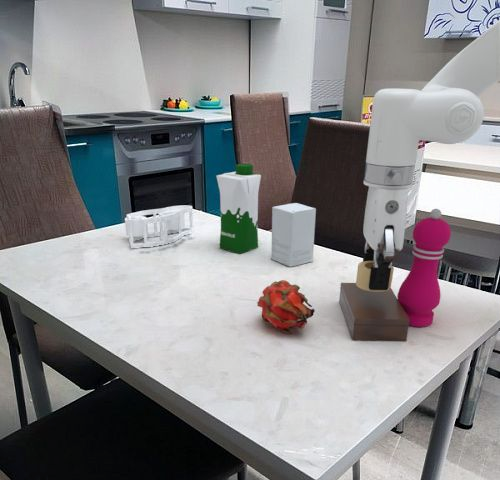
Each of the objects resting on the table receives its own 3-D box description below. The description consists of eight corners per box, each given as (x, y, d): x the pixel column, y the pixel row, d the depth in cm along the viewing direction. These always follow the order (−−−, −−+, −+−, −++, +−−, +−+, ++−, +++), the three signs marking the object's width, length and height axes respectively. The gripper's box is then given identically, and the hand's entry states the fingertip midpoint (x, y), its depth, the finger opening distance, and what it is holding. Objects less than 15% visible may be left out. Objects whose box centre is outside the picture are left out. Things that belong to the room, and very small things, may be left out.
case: (387, 302, 98) (389, 283, 96) (408, 341, 84) (412, 319, 82) (338, 301, 98) (340, 282, 97) (351, 340, 84) (354, 318, 82)
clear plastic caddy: (184, 228, 144) (182, 202, 140) (204, 237, 136) (203, 210, 132) (117, 240, 133) (114, 212, 130) (134, 250, 125) (131, 221, 122)
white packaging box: (313, 261, 119) (317, 208, 113) (289, 267, 115) (291, 212, 109) (294, 253, 124) (296, 201, 119) (269, 258, 121) (271, 205, 115)
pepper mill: (406, 307, 96) (427, 201, 87) (442, 320, 91) (467, 210, 82) (385, 318, 91) (405, 207, 82) (422, 332, 87) (447, 216, 78)
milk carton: (263, 247, 129) (265, 165, 119) (239, 255, 122) (239, 170, 113) (237, 240, 134) (237, 161, 124) (213, 248, 127) (211, 166, 118)
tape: (386, 279, 91) (389, 260, 89) (394, 292, 85) (397, 272, 84) (353, 278, 91) (355, 259, 89) (358, 291, 86) (361, 271, 84)
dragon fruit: (268, 317, 95) (302, 353, 87) (237, 301, 89) (271, 338, 81) (295, 281, 93) (333, 314, 85) (266, 262, 88) (303, 296, 79)
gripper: (428, 186, 72) (408, 302, 80) (399, 166, 87) (384, 265, 95) (375, 185, 72) (361, 301, 80) (355, 166, 87) (345, 264, 96)
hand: (374, 281), depth 88 cm, fingers closed on tape, 6 cm apart
